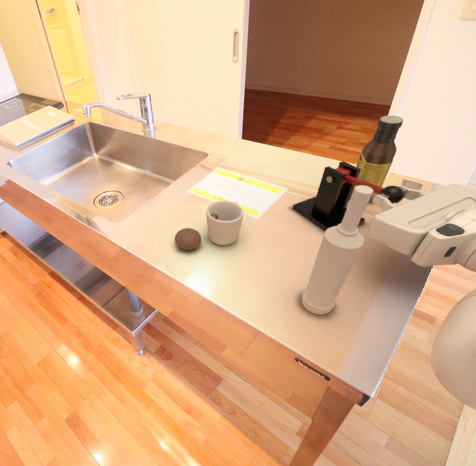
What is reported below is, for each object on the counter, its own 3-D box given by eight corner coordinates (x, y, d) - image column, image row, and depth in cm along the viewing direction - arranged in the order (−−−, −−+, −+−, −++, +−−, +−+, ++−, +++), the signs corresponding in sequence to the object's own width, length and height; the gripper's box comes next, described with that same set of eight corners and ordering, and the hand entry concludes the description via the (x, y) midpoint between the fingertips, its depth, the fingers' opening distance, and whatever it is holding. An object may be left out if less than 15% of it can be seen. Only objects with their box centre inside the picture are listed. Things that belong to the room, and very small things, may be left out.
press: (363, 223, 72) (385, 174, 64) (332, 236, 71) (350, 187, 63) (321, 197, 81) (335, 151, 73) (292, 208, 80) (303, 162, 71)
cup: (218, 217, 81) (220, 190, 76) (249, 226, 77) (253, 198, 72) (199, 242, 75) (200, 215, 70) (232, 253, 71) (235, 226, 65)
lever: (405, 204, 60) (411, 187, 58) (391, 210, 59) (396, 193, 57) (339, 178, 71) (342, 163, 69) (326, 183, 71) (329, 168, 69)
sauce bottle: (355, 186, 83) (386, 110, 70) (381, 196, 79) (418, 117, 66) (340, 195, 81) (368, 118, 68) (365, 206, 77) (400, 126, 64)
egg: (169, 244, 76) (169, 231, 73) (188, 233, 78) (188, 220, 75) (187, 257, 72) (187, 244, 69) (206, 245, 74) (207, 232, 71)
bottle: (295, 295, 60) (333, 182, 44) (321, 290, 60) (369, 176, 44) (310, 318, 56) (357, 203, 40) (338, 313, 56) (398, 196, 40)
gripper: (526, 199, 51) (434, 163, 61) (432, 241, 47) (350, 195, 57) (501, 229, 55) (418, 190, 65) (412, 270, 51) (339, 222, 61)
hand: (386, 193), depth 61 cm, fingers closed on lever, 3 cm apart
